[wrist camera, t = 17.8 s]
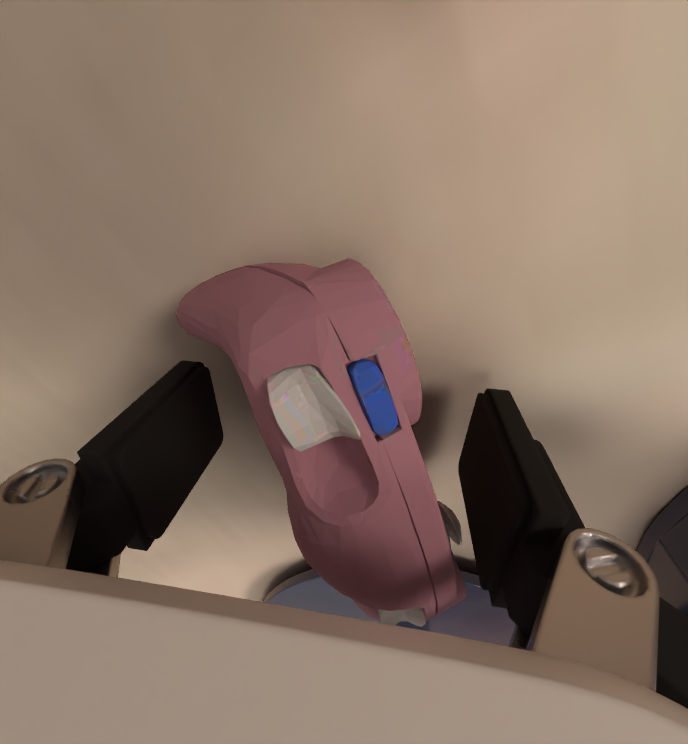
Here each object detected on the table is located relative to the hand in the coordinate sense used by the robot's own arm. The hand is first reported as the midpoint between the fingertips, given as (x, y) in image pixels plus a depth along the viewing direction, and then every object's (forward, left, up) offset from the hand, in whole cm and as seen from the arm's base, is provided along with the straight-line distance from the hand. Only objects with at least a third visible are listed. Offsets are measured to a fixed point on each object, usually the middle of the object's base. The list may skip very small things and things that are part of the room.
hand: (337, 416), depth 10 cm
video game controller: (0, 0, -1) cm, 1 cm away
